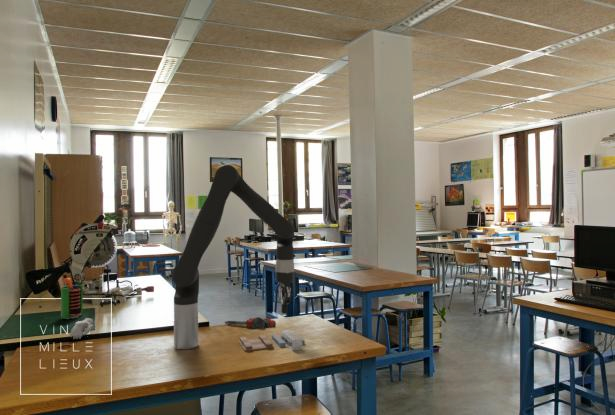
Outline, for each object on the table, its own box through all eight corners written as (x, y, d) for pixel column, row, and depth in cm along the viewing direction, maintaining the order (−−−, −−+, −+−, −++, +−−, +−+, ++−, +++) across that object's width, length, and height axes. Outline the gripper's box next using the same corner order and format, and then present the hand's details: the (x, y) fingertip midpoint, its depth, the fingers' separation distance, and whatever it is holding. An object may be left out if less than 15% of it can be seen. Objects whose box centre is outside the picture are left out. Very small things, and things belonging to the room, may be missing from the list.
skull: (62, 334, 187) (75, 310, 196) (73, 346, 193) (85, 321, 202) (79, 334, 186) (91, 309, 195) (89, 345, 192) (101, 321, 200)
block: (302, 349, 168) (302, 338, 168) (292, 350, 167) (292, 340, 167) (290, 339, 182) (290, 329, 182) (281, 340, 180) (281, 330, 180)
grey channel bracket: (305, 347, 175) (305, 340, 175) (278, 351, 171) (278, 343, 171) (296, 339, 186) (296, 332, 186) (270, 342, 183) (270, 334, 183)
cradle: (273, 352, 170) (273, 343, 170) (245, 355, 167) (245, 347, 167) (265, 342, 183) (265, 334, 183) (238, 345, 179) (238, 337, 179)
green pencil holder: (74, 320, 222) (74, 279, 222) (56, 320, 222) (56, 279, 222) (85, 315, 232) (84, 276, 232) (67, 315, 232) (67, 276, 232)
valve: (285, 329, 210) (270, 333, 196) (237, 326, 220) (219, 330, 206) (285, 315, 211) (270, 318, 197) (237, 313, 221) (220, 315, 207)
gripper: (271, 268, 187) (271, 310, 187) (280, 273, 175) (280, 317, 175) (288, 267, 190) (288, 308, 190) (298, 272, 177) (298, 316, 177)
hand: (284, 313), depth 182 cm, fingers closed
